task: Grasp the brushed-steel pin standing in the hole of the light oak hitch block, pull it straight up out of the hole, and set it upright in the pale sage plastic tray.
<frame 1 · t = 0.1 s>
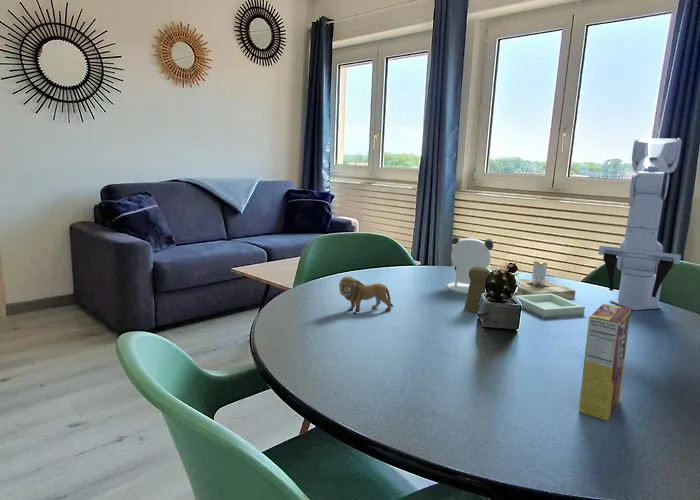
hand: (632, 293, 98), 11 cm above the table, tool pointing down, fingers open, 7 cm apart
hitch block: (537, 292, 136), on the table
lion figurine: (365, 312, 114), on the table
panda figurine: (467, 288, 138), on the table
cork: (476, 311, 118), on the table
steel pin: (538, 277, 135), in the hitch block
candy box: (598, 407, 72), on the table
sage tray: (547, 309, 120), on the table
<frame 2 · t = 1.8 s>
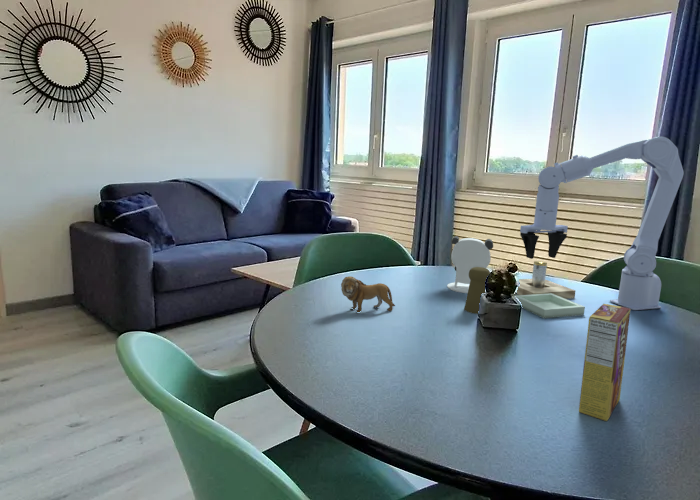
hand: (540, 257, 134), 10 cm above the table, tool pointing down, fingers open, 7 cm apart
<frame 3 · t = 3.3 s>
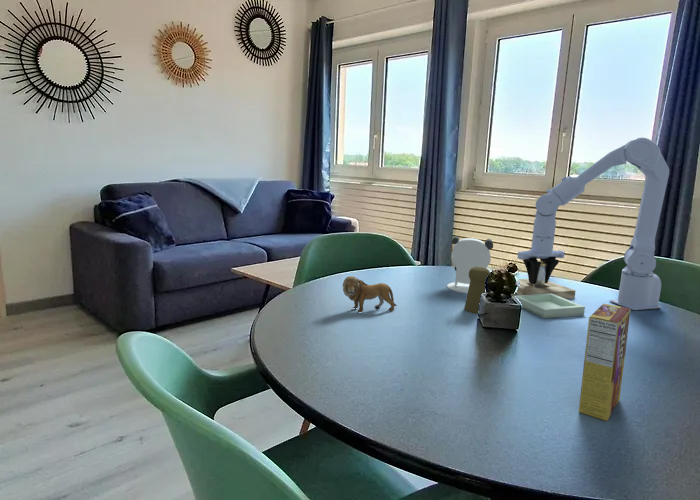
hand: (538, 282, 135), 3 cm above the table, tool pointing down, fingers closed on steel pin, 3 cm apart
steel pin: (538, 277, 135), in the hitch block, touching gripper
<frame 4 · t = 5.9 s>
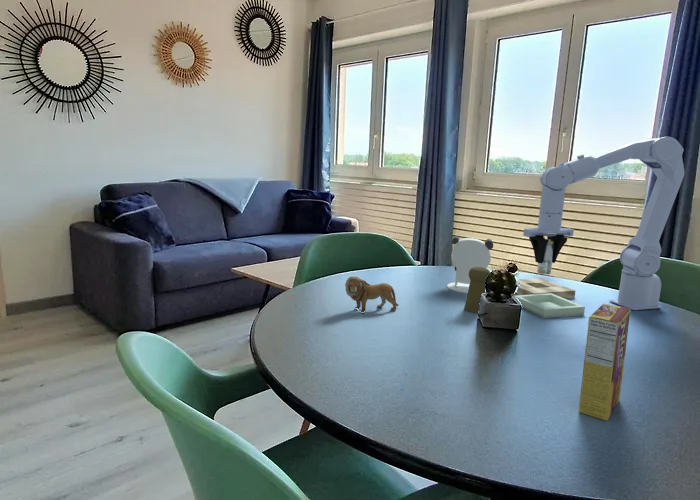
hand: (545, 262, 127), 10 cm above the table, tool pointing down, fingers closed on steel pin, 3 cm apart
steel pin: (545, 256, 127), point 12 cm above the table, touching gripper
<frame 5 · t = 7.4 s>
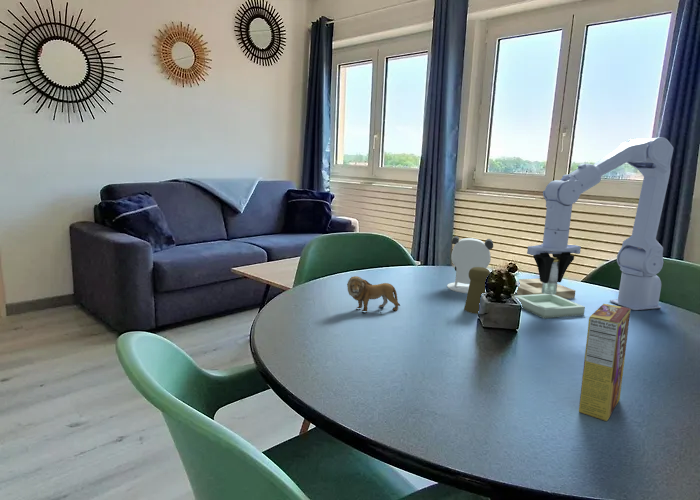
hand: (550, 281, 119), 7 cm above the table, tool pointing down, fingers closed on steel pin, 3 cm apart
steel pin: (550, 275, 119), point 9 cm above the table, touching gripper
when the fingers open (4 cm above the table, at t = 8.4 s): steel pin stays where it is, resting on sage tray.
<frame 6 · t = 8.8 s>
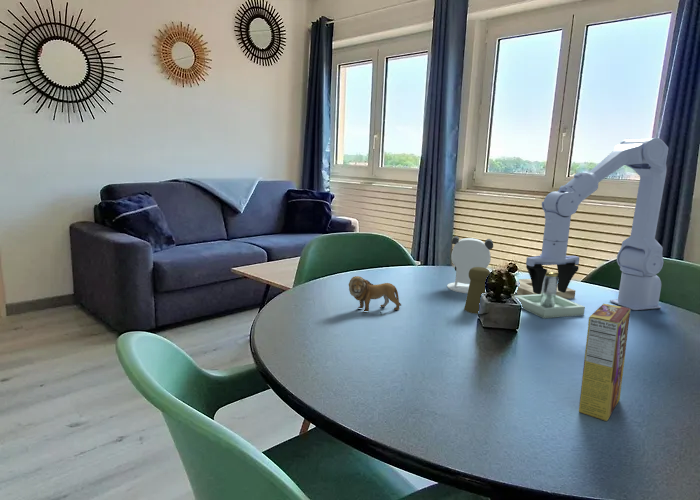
hand: (549, 292, 119), 5 cm above the table, tool pointing down, fingers open, 7 cm apart
steel pin: (549, 289, 119), in the sage tray, point 5 cm above the table
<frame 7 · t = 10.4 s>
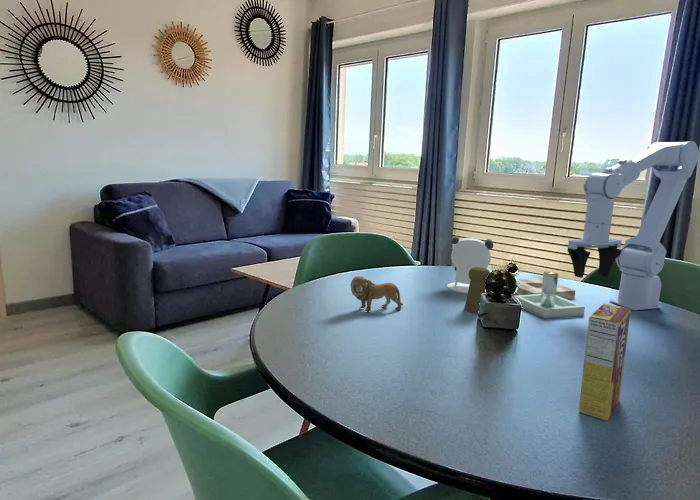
hand: (590, 276, 117), 9 cm above the table, tool pointing down, fingers open, 7 cm apart
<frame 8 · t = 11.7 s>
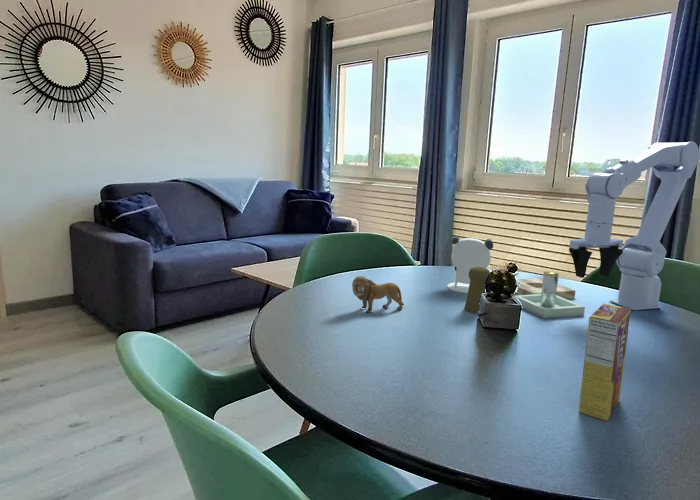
hand: (592, 276, 117), 9 cm above the table, tool pointing down, fingers open, 7 cm apart
at the end: steel pin 0.1 cm off-centre on the sage tray, point 5.1 cm above the sage tray's base; steel pin tilted 1°; the gripper is holding nothing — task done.
